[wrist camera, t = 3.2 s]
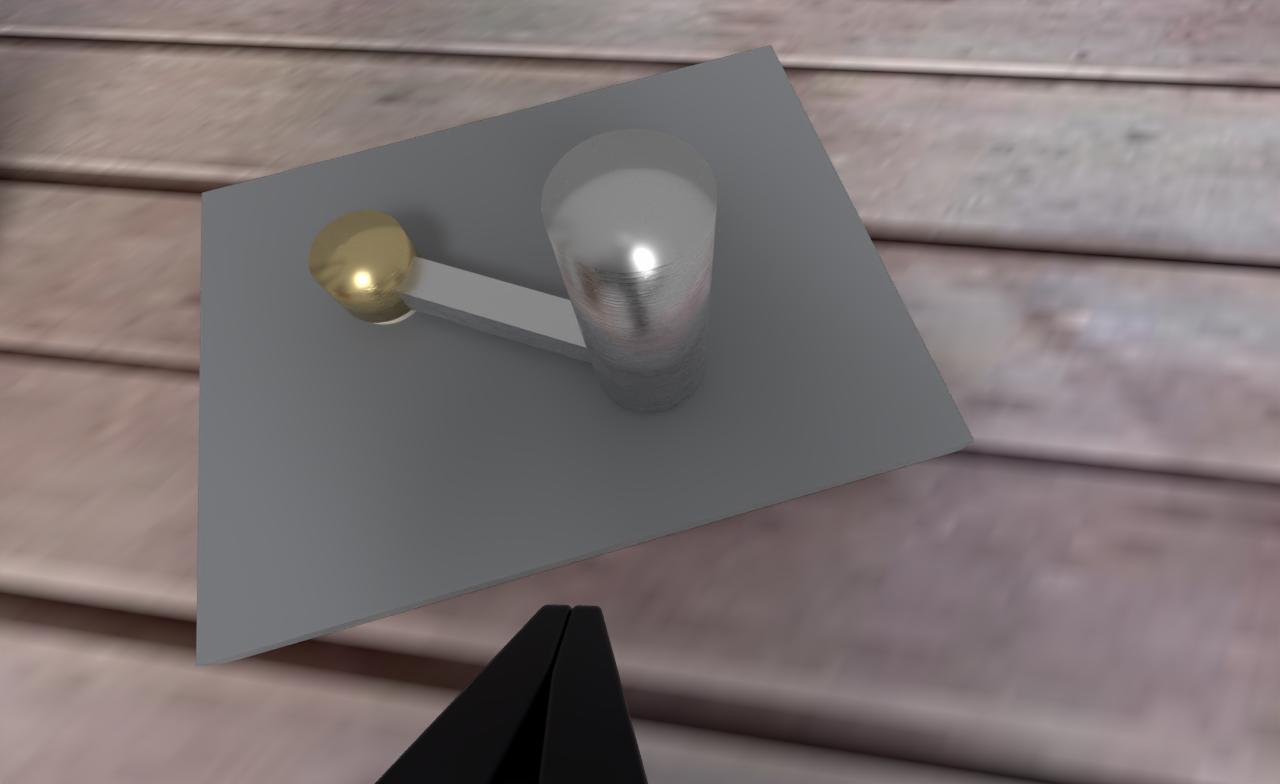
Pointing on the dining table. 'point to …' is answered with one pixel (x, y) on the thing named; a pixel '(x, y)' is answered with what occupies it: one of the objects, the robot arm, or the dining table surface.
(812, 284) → the bolt-hole plate
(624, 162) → the ball-knob lever
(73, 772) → the dining table surface
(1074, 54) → the dining table surface
